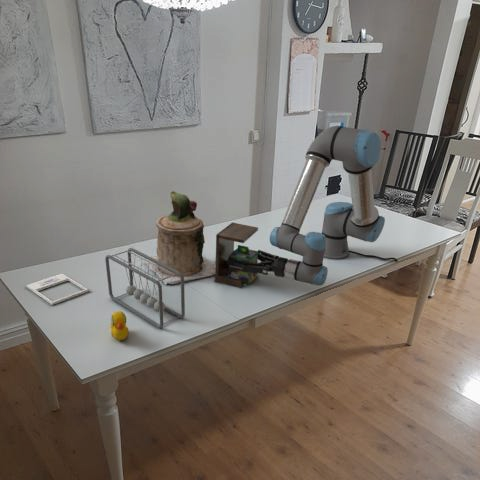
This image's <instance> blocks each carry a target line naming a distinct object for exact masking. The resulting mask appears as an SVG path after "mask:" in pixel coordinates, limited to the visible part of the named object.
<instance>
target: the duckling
mask: <svg viewBox="0 0 480 480" xmlns="http://www.w3.org/2000/svg"><path fill="white" fill-rule="evenodd" d="M110 318H111V319H110V320H111V322H110V333H111V337H112V338H114V339H115V340H117V341H123V340H126V339H127V338H128V335H129V333H130V331H129V327H128V326H127V315H126V314H125V313H124V312H123V311H114V312H113V313H112V314H111V317H110Z"/></svg>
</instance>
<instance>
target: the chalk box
mask: <svg viewBox="0 0 480 480" xmlns="http://www.w3.org/2000/svg"><path fill="white" fill-rule="evenodd" d="M229 258H232V259H236V260H241V261H245V263H259V262H258V261H259V260H258V250H253V249H250V247H249V246H246V245H240V244H238V245H237V248H236V249H234V251H233V252H232V253H231V254H230V255H229ZM227 274H228V275H227V277H231V278H235V279H239V280H242V285H243V286H249V285H250V284H251V283H252V282H253V281H254V280H255V279H257V278H258V273H250V272H243V271H242V268H239V267H235V266H231V265H229V271H228V273H227Z"/></svg>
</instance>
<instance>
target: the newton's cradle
mask: <svg viewBox="0 0 480 480" xmlns="http://www.w3.org/2000/svg"><path fill="white" fill-rule="evenodd" d="M125 253H127V258H121V257H120V256H118V255H122V254H125ZM132 255H133V256H132ZM133 257H134V258H135V257H137V258H139V259H138V260H134V261H133V262H132V258H133ZM151 257H152V256H149V255H147V254H145V253H143V252H141V251H140V250H137V249H135V248H133V247H129V248H128V249H127V250H125V251H122V252H119V253H115V254H112V255H110V254H106V256H105V259H104V260H105V269H106V280H107V286H108V288H107V289H108V294H109V297H110V299H111V300H112V301H114V302H115V303H117V304H119V305H121V306H122V307H123V308H125V309H127V310H128V311H130V312H132V313H133V314H135V315H136V316H138V317H140V318H141V319H143V320H145V321H146V322H148V323H149V324H151V325H153V326H154V327H156V328H157V329H162V328H163V327H164V325H166V324H169V323H170V322H172V321H174V320H177V319H183V318H185V313H186V309H185V308H186V306H185V305H186V304H185V303H186V301H185V281H184V277H183V275H182V273H181V272H179V271H177V270H175V269H173V268H171V267H169V266H167V265H165V264H163V263H161V262H159V261H157V260H155V259H153V258H151ZM144 258H146V259H148V260H150V261H152V262H154V263H156V264H158V265H160V266H162V267H164V268H166V269H168V270H170V271H172V272H174V273H176V274H173V273H171V272H169V271H167V270H165V269H163V268H161V267H159V266H157V265H155V264H153V263H151V262H149V261H147V260H145V259H144ZM126 259H127V260H126ZM110 260H111V261H113V262H115V263H117V264H118V265H120V266H122V267H124V269H125V271H126V274H127V279H128V283H129V285H128V286H127V287H126V289H125V291H126V293H123V294H122V295H118V296H116V297H115V296H114V294H113V288H112V277H111V267H110ZM144 260H145V261H147V262H149V263H151V264H153V265H155V266H156V267H159V268H161V269H163V273H164V270H165V271H167V272H169V273H170V274H172V275H171V276H169V277H172V276H174V275H177V274H178V275H179V276H180V278H181V282H180V305H181V306H180V309H181V310H180V311H181V314H180V313H178V312H176V311H175V310H173V309H171V308H169V307H167V306H166V305H165V303H164V301H163V285H162V283H164V282H163V280H164V279H167V278H169V277H166V278H162V279H160V277H158V276H156V275H157V274H156V271H155V272H154V273H153V274H152V273H150V271H149V270H151V268H149V266H148V265H147V264H148V263H147V264H145V263H144V264H143V262H141V263H140V265H138V266H136V265H135V264H136V262H140V261H144ZM145 261H144V262H145ZM144 265H147V267H148V268H147V269H145V270H144V269H143V268H142V267H143V266H144ZM153 268H154V267H153ZM127 269H128V271H127ZM160 272H161V271H160ZM157 273H158V272H157ZM135 274H137V275H138V277H139V281H140V283H139V285H138V286H137V282H136V278H135ZM142 277H143V278H144V279H146V285H145V290H144V287H143V284H142V279H141V278H142ZM148 281H150V282H152V283H153V288H154V289H153V290H152V294H151V290H150V286H149V282H148ZM160 282H161V283H160ZM134 283H135V285H134ZM140 285H141V286H140ZM156 286H157V288H158V289H157V288H156ZM138 287H139V288H138ZM140 287H142V289H140ZM147 288H148V291H149V293H147V292H145V291H147ZM156 289H157V290H158V293H157V290H156ZM154 293H155V294H156V297H155V296H152V295H155V294H154ZM126 295H128V296H132V297H133V298H134V299H135V300H137V301H140V302H141V303H142V304H146V305H147V307H149V308H151V309H154V311H156V312H157V313H159V323H157V322H156V321H154V320H152V319H151V318H149V317H147V316H146V315H144V314H142V313H140V312H139V311H138V310H136V309H134V308H133V307H132V306H129V305H128V304H127V303H125V302H123V301H121V300H119V299H118V298H121V297H123V296H126ZM164 310H165V311H166V312H168V313H170V314H171V315H173V316H174V318H172V319H170V320H168V321H164Z"/></svg>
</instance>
